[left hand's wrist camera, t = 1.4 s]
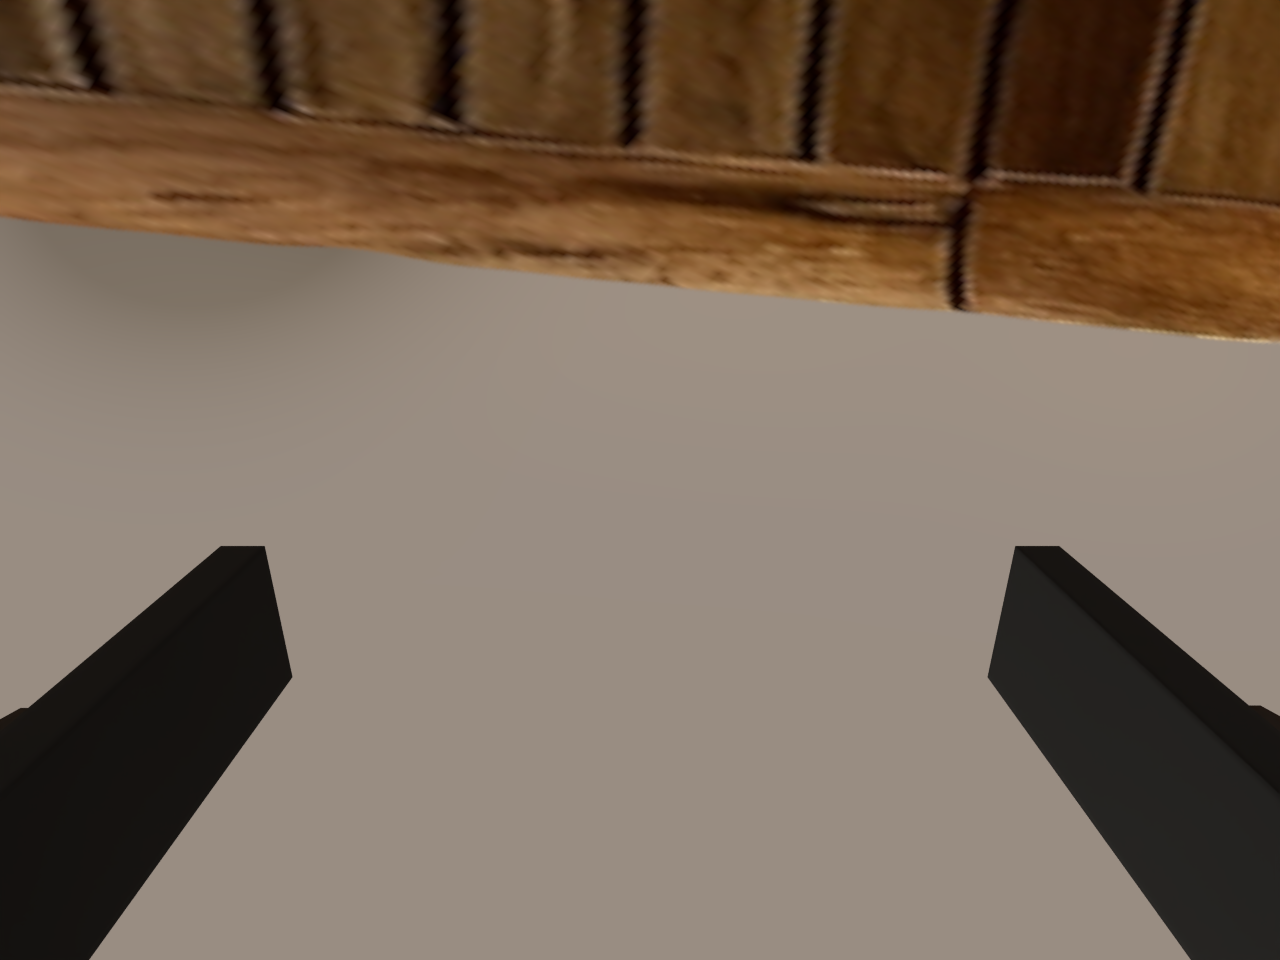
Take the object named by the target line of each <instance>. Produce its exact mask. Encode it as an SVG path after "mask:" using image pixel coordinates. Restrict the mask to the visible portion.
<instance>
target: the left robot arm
mask: <svg viewBox="0 0 1280 960" xmlns="http://www.w3.org/2000/svg"><path fill="white" fill-rule="evenodd" d="M291 678H292V673H291V668H290V663H289V659H288V654H287V649H286V645H285V640H284V635H283V631H282V626H281V621H280V616H279V612H278V607H277V602H276V598H275V593H274V588H273V583H272V579H271V574H270V569H269V565H268V560H267V555H266V550H265V546H220V547H219V548H218V549H217V550H216V551H214V552H213V553H212V554H211V555H210V556H209V557H207V558H206V559H205V560H204V561H203V562H201V563H200V564H199V565H198V566H197V567H195V568H194V569H193V570H192V571H191V572H190V573H188V574H187V575H186V576H185V577H184V578H182V579H181V580H180V581H179V582H178V583H176V584H175V585H174V586H173V587H172V588H170V589H169V590H168V591H167V592H166V593H164V594H163V595H162V596H161V597H160V598H159V599H157V600H156V601H155V602H154V603H153V604H151V605H150V606H149V607H148V608H147V609H146V610H144V611H143V612H142V613H141V614H140V615H138V616H137V617H136V618H135V619H134V620H132V621H131V622H130V623H129V624H128V625H126V626H125V627H124V628H123V629H122V630H120V631H119V632H118V633H117V634H116V635H115V636H113V637H112V638H111V639H110V640H109V641H107V642H106V643H105V644H104V645H103V646H102V647H100V648H99V649H98V650H97V651H96V652H94V653H93V654H92V655H91V656H90V657H88V658H87V659H86V660H85V661H84V662H82V663H81V664H80V665H79V666H78V667H76V668H75V669H74V670H73V671H72V672H70V673H69V674H68V675H67V676H66V677H65V678H63V679H62V680H61V681H60V682H59V683H57V684H56V685H55V686H54V687H53V688H51V689H50V690H49V691H48V692H47V693H45V694H44V695H43V696H42V697H41V698H40V699H38V700H37V701H36V702H35V703H34V704H32V705H31V706H30V707H29V708H20V709H18V710H16V711H14V712H13V713H11V714H9V715H7V716H5V717H3V718H2V719H0V960H89V959H90V958H91V956H92V955H93V954H94V952H95V951H96V949H97V948H98V947H99V945H100V944H101V942H102V941H103V940H104V938H105V937H106V935H107V934H108V933H109V931H110V930H111V929H112V927H113V926H114V924H115V923H116V922H117V920H118V919H119V917H120V916H121V915H122V913H123V912H124V910H125V909H126V908H127V906H128V905H129V904H130V902H131V901H132V899H133V898H134V897H135V895H136V894H137V892H138V891H139V890H140V888H141V887H142V885H143V884H144V883H145V881H146V880H147V878H148V877H149V876H150V874H151V873H152V872H153V870H154V869H155V867H156V866H157V865H158V863H159V862H160V860H161V859H162V858H163V856H164V855H165V853H166V852H167V851H168V849H169V848H170V846H171V845H172V844H173V842H174V841H175V840H176V838H177V837H178V835H179V834H180V833H181V831H182V830H183V828H184V827H185V826H186V824H187V823H188V822H189V820H190V819H191V817H192V816H193V815H194V813H195V812H196V810H197V809H198V808H199V806H200V805H201V803H202V802H203V801H204V799H205V798H206V796H207V795H208V794H209V792H210V791H211V789H212V788H213V787H214V785H215V784H216V783H217V781H218V780H219V778H220V777H221V776H222V774H223V773H224V771H225V770H226V769H227V767H228V766H229V765H230V763H231V762H232V760H233V759H234V758H235V756H236V755H237V753H238V752H239V751H240V749H241V748H242V746H243V745H244V744H245V742H246V741H247V739H248V738H249V737H250V735H251V734H252V732H253V731H254V730H255V728H256V727H257V726H258V724H259V723H260V721H261V720H262V719H263V717H264V716H265V714H266V713H267V712H268V710H269V709H270V708H271V706H272V705H273V703H274V702H275V701H276V699H277V698H278V696H279V695H280V694H281V692H282V691H283V689H284V688H285V687H286V685H287V684H288V682H289V681H290V680H291ZM988 678H989V680H990V681H991V682H992V684H993V685H994V687H995V688H996V689H997V691H998V692H999V694H1000V695H1001V696H1002V698H1003V699H1004V701H1005V702H1006V703H1007V705H1008V706H1009V708H1010V709H1011V710H1012V712H1013V713H1014V714H1015V716H1016V717H1017V719H1018V720H1019V721H1020V723H1021V724H1022V726H1023V727H1024V728H1025V730H1026V731H1027V733H1028V734H1029V735H1030V737H1031V738H1032V740H1033V741H1034V742H1035V744H1036V745H1037V746H1038V748H1039V749H1040V751H1041V752H1042V753H1043V755H1044V756H1045V758H1046V759H1047V760H1048V762H1049V763H1050V765H1051V766H1052V767H1053V769H1054V770H1055V771H1056V773H1057V774H1058V776H1059V777H1060V778H1061V780H1062V781H1063V783H1064V784H1065V785H1066V787H1067V788H1068V790H1069V791H1070V792H1071V794H1072V795H1073V796H1074V798H1075V799H1076V801H1077V802H1078V803H1079V805H1080V806H1081V808H1082V809H1083V810H1084V812H1085V813H1086V815H1087V816H1088V817H1089V819H1090V820H1091V822H1092V823H1093V824H1094V826H1095V827H1096V828H1097V830H1098V831H1099V833H1100V834H1101V835H1102V837H1103V838H1104V840H1105V841H1106V842H1107V844H1108V845H1109V846H1110V848H1111V849H1112V851H1113V852H1114V853H1115V855H1116V856H1117V858H1118V859H1119V860H1120V862H1121V863H1122V865H1123V866H1124V867H1125V869H1126V870H1127V872H1128V873H1129V874H1130V876H1131V877H1132V879H1133V880H1134V881H1135V883H1136V884H1137V885H1138V887H1139V888H1140V890H1141V891H1142V892H1143V894H1144V895H1145V897H1146V898H1147V899H1148V901H1149V902H1150V903H1151V905H1152V906H1153V908H1154V909H1155V910H1156V912H1157V913H1158V915H1159V916H1160V917H1161V919H1162V920H1163V922H1164V923H1165V924H1166V926H1167V927H1168V929H1169V930H1170V931H1171V933H1172V934H1173V935H1174V937H1175V938H1176V940H1177V941H1178V942H1179V944H1180V945H1181V946H1182V948H1183V949H1184V951H1185V952H1186V954H1187V955H1188V956H1189V958H1190V959H1191V960H1280V716H1278V715H1277V714H1275V713H1273V712H1271V711H1269V710H1268V709H1266V708H1264V707H1262V706H1249V705H1248V704H1246V703H1245V702H1244V701H1243V700H1242V699H1240V698H1239V697H1238V696H1237V695H1236V694H1235V693H1233V692H1232V691H1231V690H1230V689H1228V688H1227V687H1226V686H1225V685H1224V684H1223V683H1221V682H1220V681H1219V680H1218V679H1217V678H1215V677H1214V676H1213V675H1212V674H1211V673H1210V672H1208V671H1207V670H1206V669H1205V668H1204V667H1202V666H1201V665H1200V664H1199V663H1198V662H1196V661H1195V660H1194V659H1193V658H1192V657H1190V656H1189V655H1188V654H1187V653H1186V652H1185V651H1183V650H1182V649H1181V648H1180V647H1179V646H1177V645H1176V644H1175V643H1174V642H1173V641H1171V640H1170V639H1169V638H1168V637H1167V636H1166V635H1164V634H1163V633H1162V632H1161V631H1160V630H1158V629H1157V628H1156V627H1155V626H1154V625H1152V624H1151V623H1150V622H1149V621H1148V620H1146V619H1145V618H1144V617H1143V616H1142V615H1141V614H1139V613H1138V612H1137V611H1136V610H1135V609H1133V608H1132V607H1131V606H1130V605H1129V604H1127V603H1126V602H1125V601H1124V600H1123V599H1121V598H1120V597H1119V596H1118V595H1117V594H1115V593H1114V592H1113V591H1112V590H1111V589H1110V588H1108V587H1107V586H1106V585H1105V584H1104V583H1102V582H1101V581H1100V580H1099V579H1098V578H1096V577H1095V576H1094V575H1093V574H1092V573H1090V572H1089V571H1088V570H1087V569H1086V568H1085V567H1083V566H1082V565H1081V564H1080V563H1079V562H1077V561H1076V560H1075V559H1074V558H1073V557H1071V556H1070V555H1069V554H1068V553H1067V552H1065V551H1064V550H1063V549H1062V548H1061V547H1060V546H1015V550H1014V555H1013V560H1012V564H1011V569H1010V574H1009V579H1008V583H1007V588H1006V593H1005V597H1004V602H1003V607H1002V612H1001V616H1000V621H999V626H998V630H997V635H996V640H995V645H994V649H993V654H992V659H991V664H990V668H989V673H988Z"/></svg>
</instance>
